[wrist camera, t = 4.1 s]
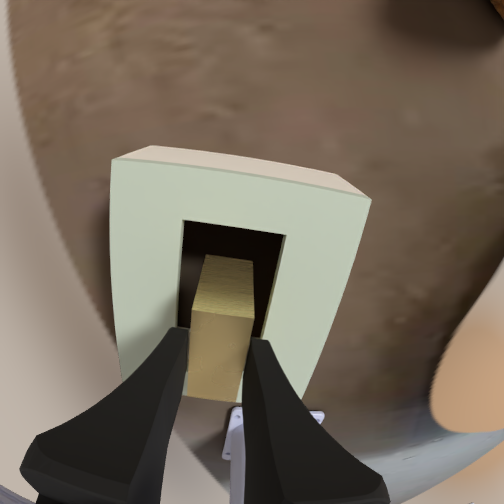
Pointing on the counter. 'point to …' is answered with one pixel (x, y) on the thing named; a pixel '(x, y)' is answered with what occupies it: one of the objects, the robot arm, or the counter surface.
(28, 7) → the counter surface
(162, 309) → the box
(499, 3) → the stuffed squirrel
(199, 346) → the tan rectangular block
